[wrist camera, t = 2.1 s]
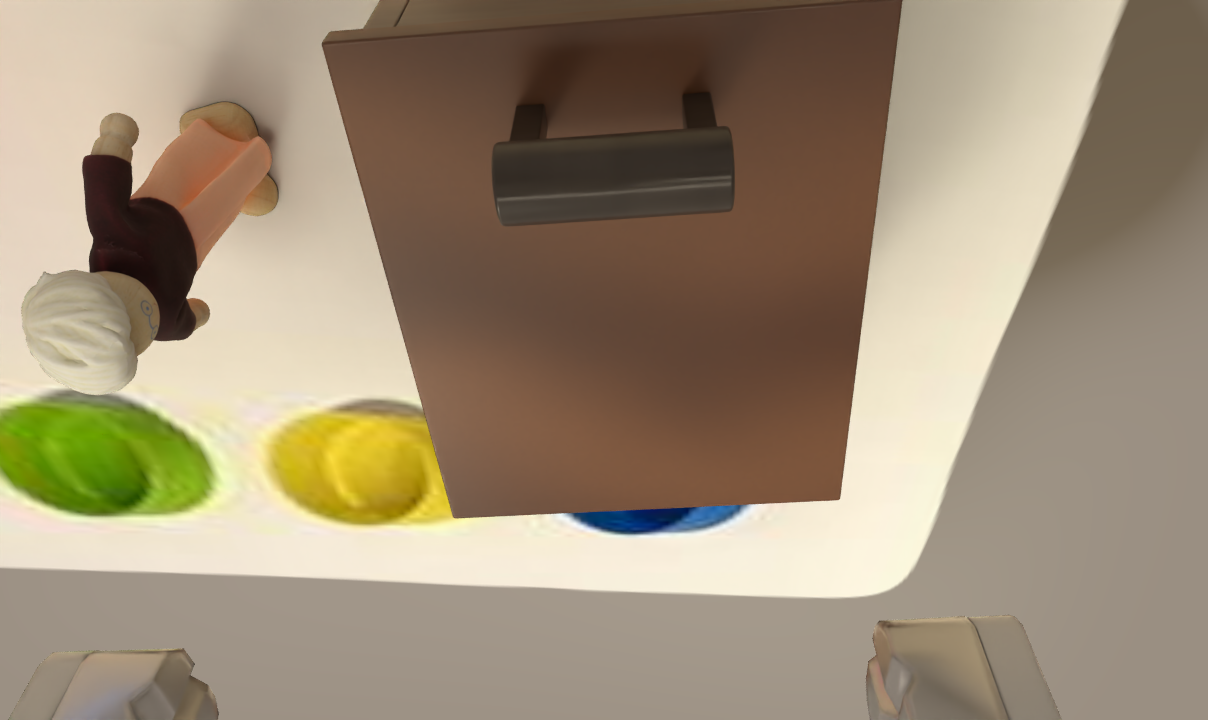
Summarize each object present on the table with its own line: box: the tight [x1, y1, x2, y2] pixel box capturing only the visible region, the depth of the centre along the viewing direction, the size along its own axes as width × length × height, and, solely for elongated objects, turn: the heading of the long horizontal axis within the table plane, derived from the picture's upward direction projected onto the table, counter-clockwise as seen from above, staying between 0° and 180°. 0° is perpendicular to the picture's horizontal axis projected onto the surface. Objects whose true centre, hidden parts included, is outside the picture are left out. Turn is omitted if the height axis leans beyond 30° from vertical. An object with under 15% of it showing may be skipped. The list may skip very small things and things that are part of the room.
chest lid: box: [322, 0, 902, 518], centre depth 25 cm, size 17×13×5 cm
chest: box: [363, 0, 726, 29], centre depth 30 cm, size 16×13×9 cm
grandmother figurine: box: [21, 102, 278, 395], centre depth 28 cm, size 8×4×13 cm, turn 13°
